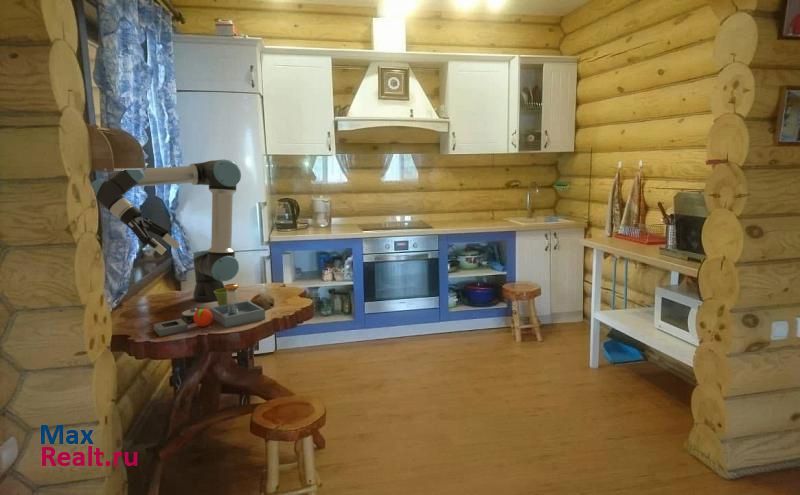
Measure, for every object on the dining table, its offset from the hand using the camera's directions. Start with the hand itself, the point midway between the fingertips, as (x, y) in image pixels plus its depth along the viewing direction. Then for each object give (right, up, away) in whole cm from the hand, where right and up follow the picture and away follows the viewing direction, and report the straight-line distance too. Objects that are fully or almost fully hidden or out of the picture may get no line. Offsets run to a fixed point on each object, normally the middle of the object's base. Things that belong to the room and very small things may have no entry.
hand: (171, 249), depth 190 cm
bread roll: (+29, -26, +24) cm, 45 cm away
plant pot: (+14, -26, +22) cm, 37 cm away
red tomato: (+13, -30, -1) cm, 33 cm away
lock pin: (+22, -27, +7) cm, 36 cm away
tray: (+23, -28, +9) cm, 37 cm away
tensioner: (+4, -30, +2) cm, 30 cm away
